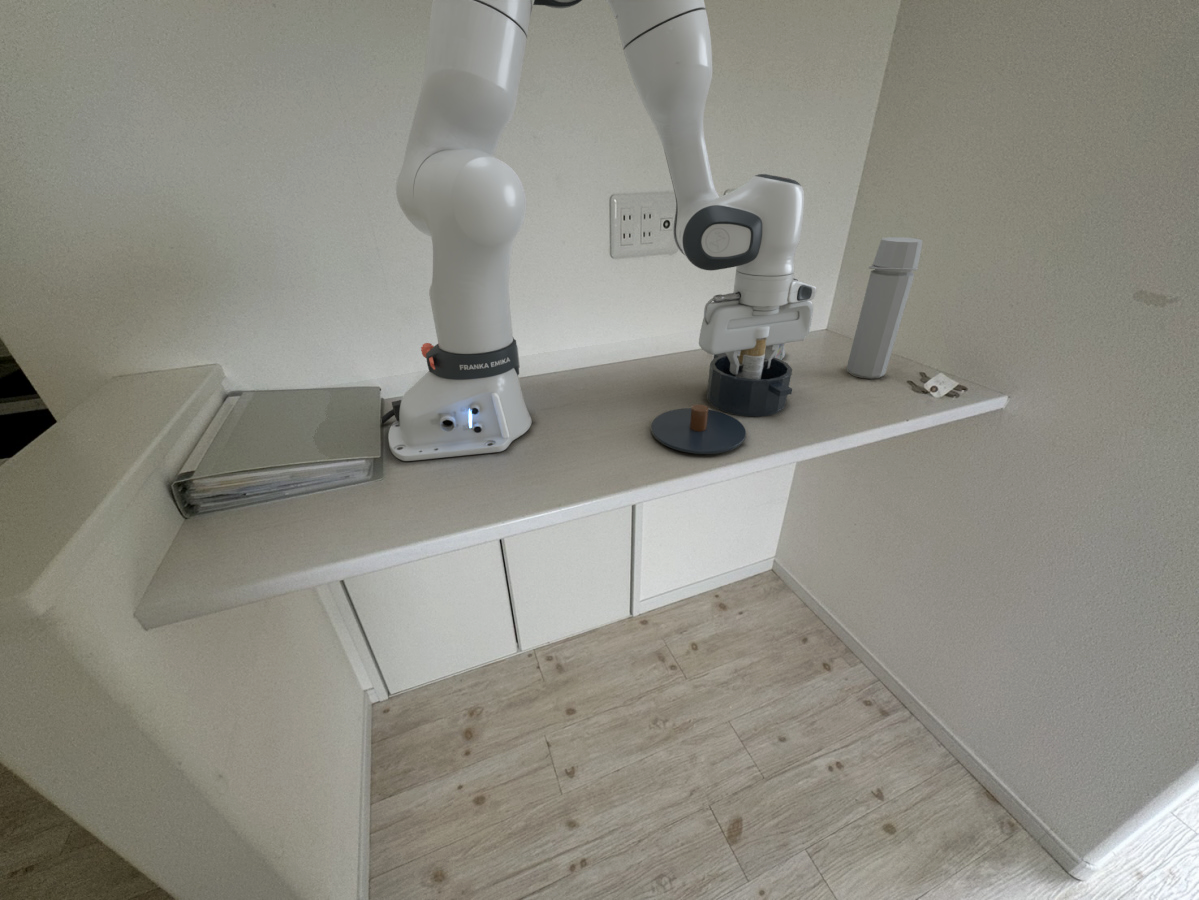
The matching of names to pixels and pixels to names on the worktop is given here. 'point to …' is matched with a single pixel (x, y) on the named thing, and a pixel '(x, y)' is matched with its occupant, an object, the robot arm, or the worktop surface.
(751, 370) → the sprinkles bottle
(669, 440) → the pan lid
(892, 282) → the water bottle
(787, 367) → the pan
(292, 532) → the worktop surface
